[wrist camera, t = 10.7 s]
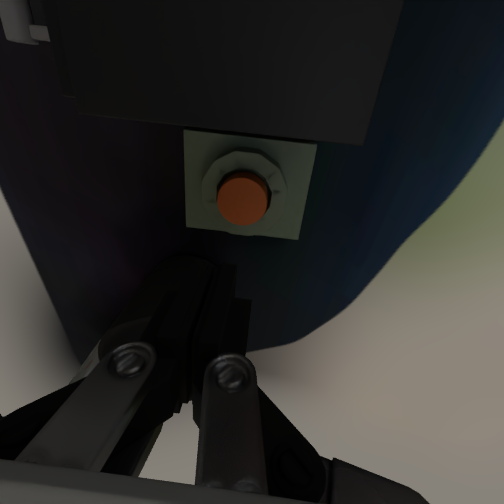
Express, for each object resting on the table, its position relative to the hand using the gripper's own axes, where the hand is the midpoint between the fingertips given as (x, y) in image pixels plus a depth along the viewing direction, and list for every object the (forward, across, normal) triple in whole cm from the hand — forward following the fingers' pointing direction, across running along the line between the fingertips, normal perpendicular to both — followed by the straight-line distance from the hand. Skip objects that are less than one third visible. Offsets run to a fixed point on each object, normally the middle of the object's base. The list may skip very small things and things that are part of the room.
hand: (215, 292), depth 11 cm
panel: (+15, 0, 0) cm, 15 cm away
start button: (+12, 0, 0) cm, 12 cm away
